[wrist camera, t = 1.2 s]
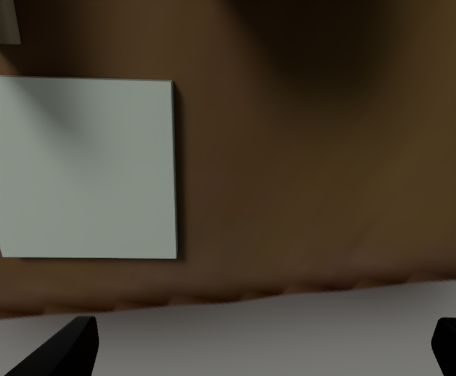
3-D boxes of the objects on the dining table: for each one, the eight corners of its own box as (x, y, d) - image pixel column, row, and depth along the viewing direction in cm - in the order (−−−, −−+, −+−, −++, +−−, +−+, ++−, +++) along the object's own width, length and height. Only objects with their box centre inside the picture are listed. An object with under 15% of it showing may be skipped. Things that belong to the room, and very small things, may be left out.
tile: (173, 80, 16) (170, 81, 15) (177, 250, 19) (176, 258, 18) (-31, 74, 15) (-44, 75, 14) (11, 248, 19) (2, 256, 18)
